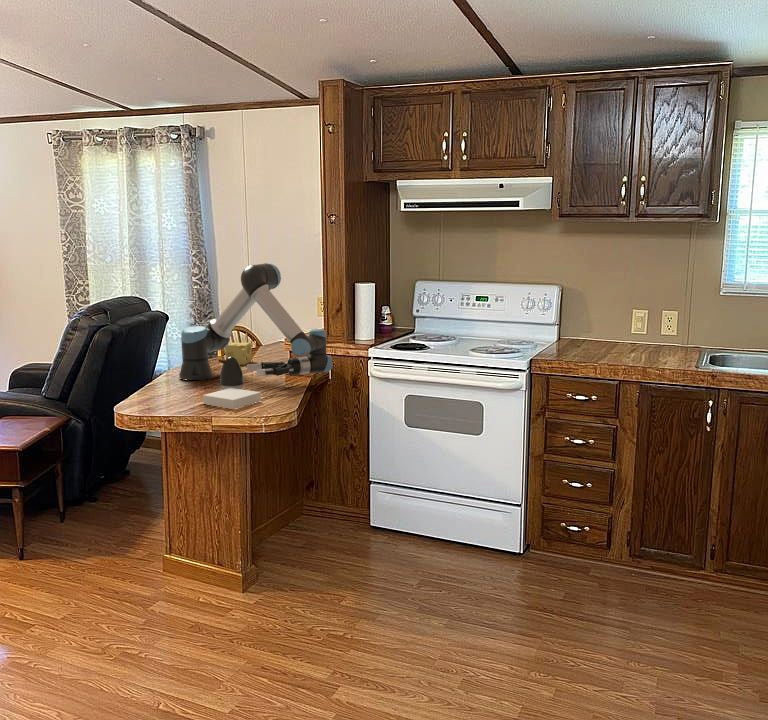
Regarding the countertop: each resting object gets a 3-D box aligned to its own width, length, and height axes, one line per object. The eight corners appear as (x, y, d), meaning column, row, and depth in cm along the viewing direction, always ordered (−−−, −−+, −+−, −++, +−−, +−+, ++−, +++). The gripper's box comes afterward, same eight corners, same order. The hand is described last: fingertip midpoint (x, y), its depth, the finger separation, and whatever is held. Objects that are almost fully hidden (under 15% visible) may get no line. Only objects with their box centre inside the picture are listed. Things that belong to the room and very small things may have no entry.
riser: (203, 404, 318) (203, 395, 317) (231, 397, 331) (230, 387, 331) (233, 410, 310) (233, 399, 309) (260, 401, 323) (260, 392, 322)
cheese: (244, 365, 403) (244, 345, 401) (224, 364, 405) (224, 345, 403) (252, 361, 413) (251, 342, 411) (232, 360, 415) (232, 341, 413)
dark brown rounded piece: (217, 390, 344) (216, 355, 342) (241, 388, 348) (240, 354, 345) (221, 395, 335) (220, 359, 332) (246, 393, 339) (245, 358, 336)
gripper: (309, 379, 344) (262, 384, 334) (288, 369, 366) (243, 374, 356) (309, 362, 343) (261, 366, 333) (287, 353, 364) (242, 357, 354)
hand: (252, 370), depth 344 cm, fingers open, 13 cm apart
